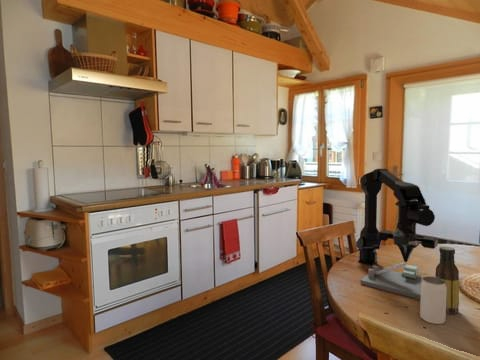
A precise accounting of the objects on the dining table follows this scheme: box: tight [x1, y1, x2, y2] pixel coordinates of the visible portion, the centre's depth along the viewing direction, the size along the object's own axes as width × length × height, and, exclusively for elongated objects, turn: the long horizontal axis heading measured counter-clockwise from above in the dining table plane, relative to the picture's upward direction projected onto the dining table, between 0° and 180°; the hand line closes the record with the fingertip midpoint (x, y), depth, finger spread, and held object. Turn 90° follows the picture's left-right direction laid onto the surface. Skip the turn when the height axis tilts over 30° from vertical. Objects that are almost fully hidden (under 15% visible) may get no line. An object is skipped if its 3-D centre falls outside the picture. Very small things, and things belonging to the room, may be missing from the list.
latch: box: [402, 264, 419, 279], centre depth 121 cm, size 4×6×4 cm, turn 138°
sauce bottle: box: [434, 245, 460, 315], centre depth 99 cm, size 6×6×20 cm
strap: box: [374, 261, 408, 275], centre depth 121 cm, size 14×3×1 cm, turn 47°
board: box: [360, 264, 424, 301], centre depth 119 cm, size 22×17×4 cm
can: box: [419, 276, 447, 325], centre depth 94 cm, size 6×6×12 cm
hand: (405, 261), depth 116 cm, fingers closed
